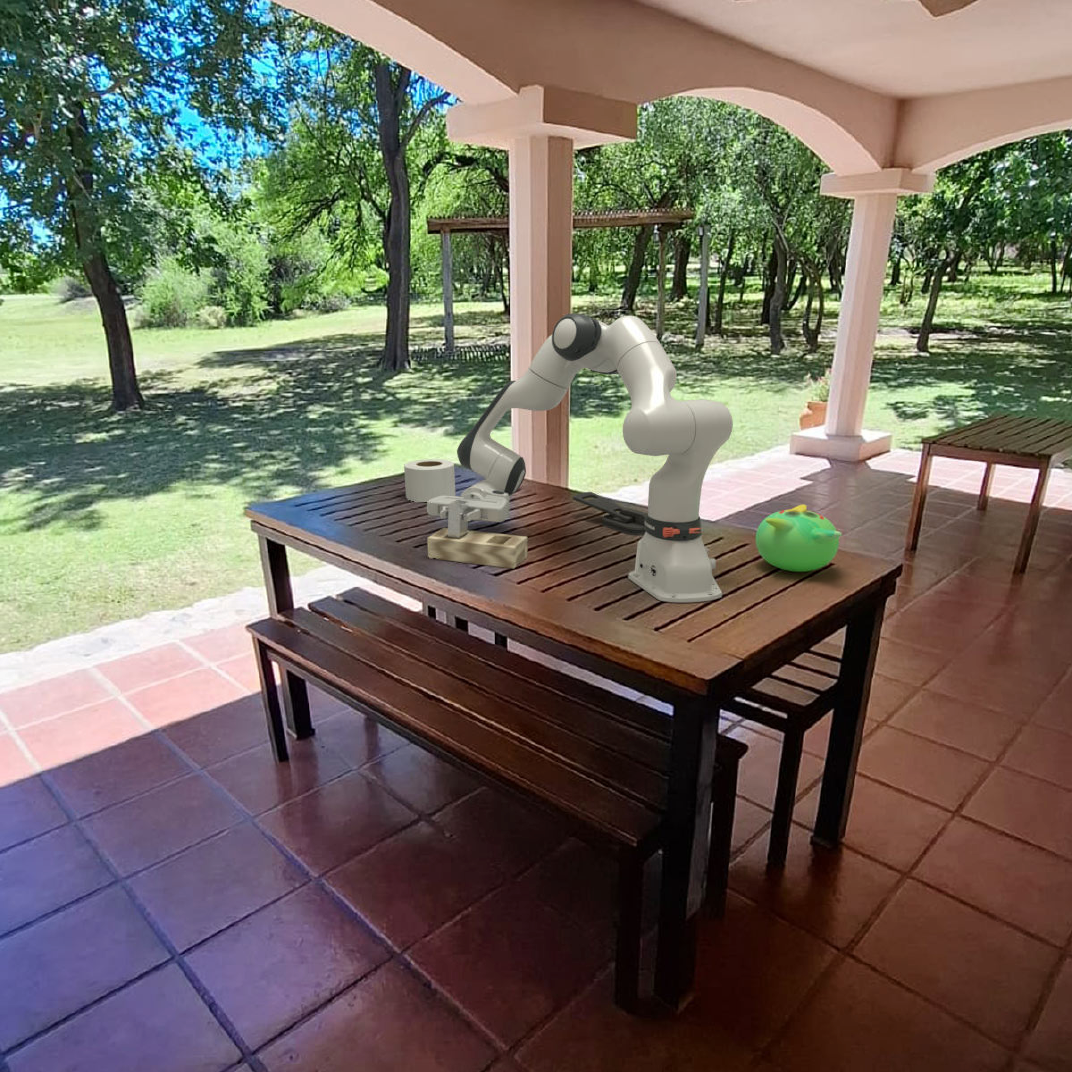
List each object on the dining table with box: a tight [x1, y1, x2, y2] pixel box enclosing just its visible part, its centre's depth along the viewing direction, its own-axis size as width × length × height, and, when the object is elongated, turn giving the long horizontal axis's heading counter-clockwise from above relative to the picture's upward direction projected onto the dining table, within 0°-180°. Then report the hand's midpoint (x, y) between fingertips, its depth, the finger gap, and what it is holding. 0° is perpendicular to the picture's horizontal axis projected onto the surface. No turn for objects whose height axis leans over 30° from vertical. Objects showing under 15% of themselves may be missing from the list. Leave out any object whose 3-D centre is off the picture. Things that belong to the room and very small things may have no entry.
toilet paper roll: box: [403, 458, 456, 503], centre depth 231 cm, size 16×15×11 cm
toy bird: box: [755, 503, 843, 573], centre depth 169 cm, size 18×17×15 cm
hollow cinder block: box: [426, 527, 528, 569], centre depth 177 cm, size 22×9×5 cm, turn 71°
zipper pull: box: [572, 491, 648, 537], centre depth 205 cm, size 9×7×25 cm
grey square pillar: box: [447, 500, 469, 539], centre depth 178 cm, size 3×4×13 cm, turn 160°
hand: (454, 516), depth 176 cm, fingers open, 5 cm apart
